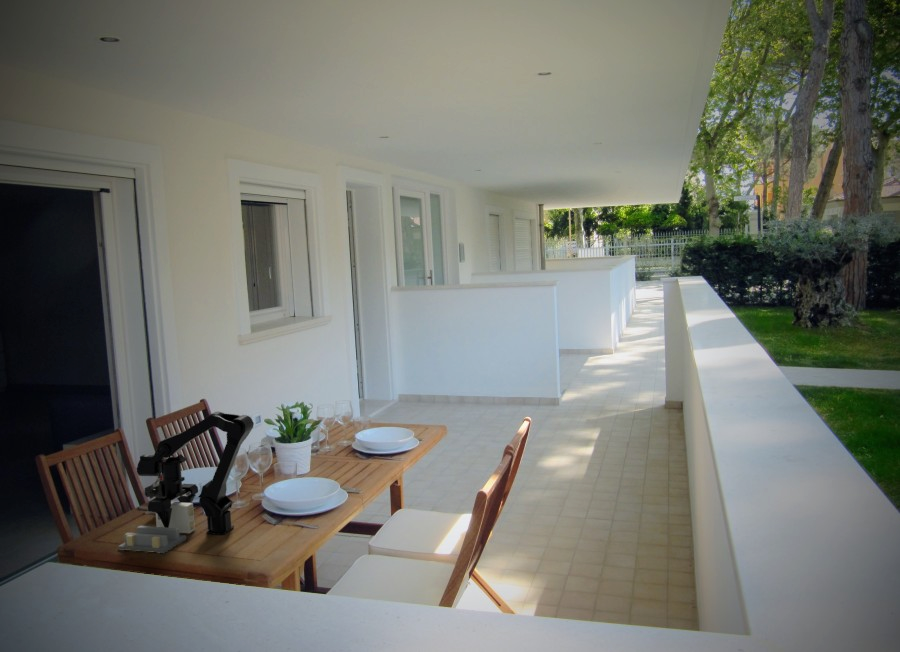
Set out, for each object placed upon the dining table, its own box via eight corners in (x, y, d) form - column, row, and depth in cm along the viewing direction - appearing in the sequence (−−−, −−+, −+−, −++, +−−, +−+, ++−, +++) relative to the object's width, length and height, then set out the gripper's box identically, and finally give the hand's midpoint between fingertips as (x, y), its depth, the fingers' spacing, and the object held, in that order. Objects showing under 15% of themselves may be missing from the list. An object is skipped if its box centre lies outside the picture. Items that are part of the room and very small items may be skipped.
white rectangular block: (196, 530, 226) (194, 503, 226) (189, 534, 223) (187, 507, 222) (162, 527, 230) (160, 501, 229) (155, 532, 226) (153, 505, 225)
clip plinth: (186, 539, 219) (185, 526, 218) (163, 553, 208) (162, 540, 208) (142, 535, 223) (141, 523, 222) (118, 550, 212) (117, 536, 212)
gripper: (168, 466, 236) (171, 511, 237) (130, 484, 218) (134, 532, 219) (197, 467, 233) (200, 513, 235) (161, 485, 215) (165, 534, 217)
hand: (175, 522), depth 226 cm, fingers open, 9 cm apart
